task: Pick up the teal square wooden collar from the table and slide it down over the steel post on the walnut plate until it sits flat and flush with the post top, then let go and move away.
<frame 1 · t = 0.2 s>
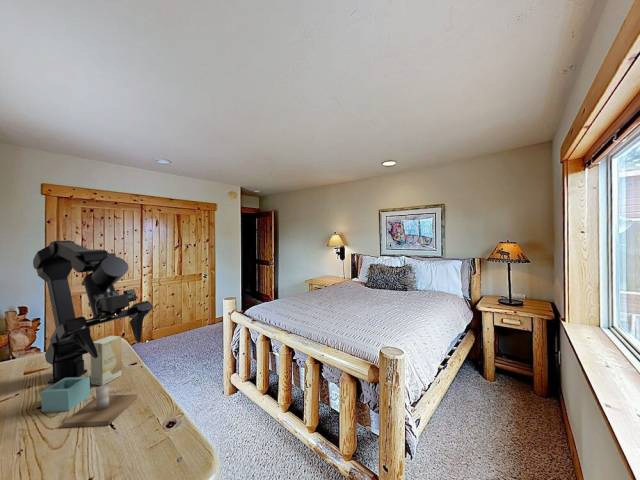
hand: (119, 349, 67), 14 cm above the table, tool tilted 30°, fingers open, 9 cm apart
collar: (67, 403, 69), on the table
skincare box: (107, 380, 80), on the table
post plate: (103, 411, 65), on the table
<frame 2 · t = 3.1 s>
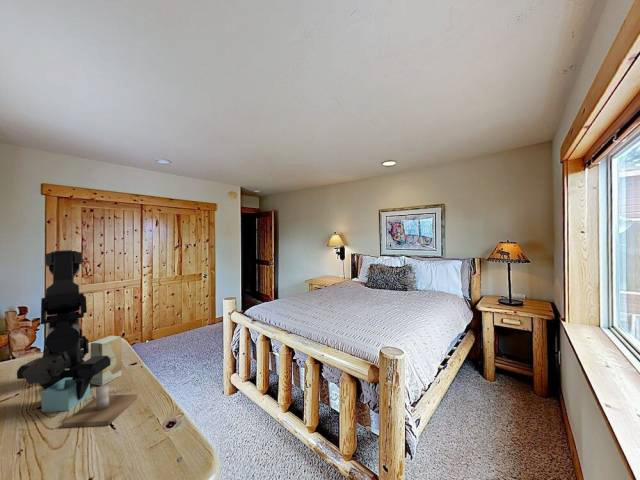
hand: (67, 399, 69), 1 cm above the table, tool pointing down, fingers closed on collar, 6 cm apart
collar: (67, 403, 69), on the table, touching gripper
everything else where it was.
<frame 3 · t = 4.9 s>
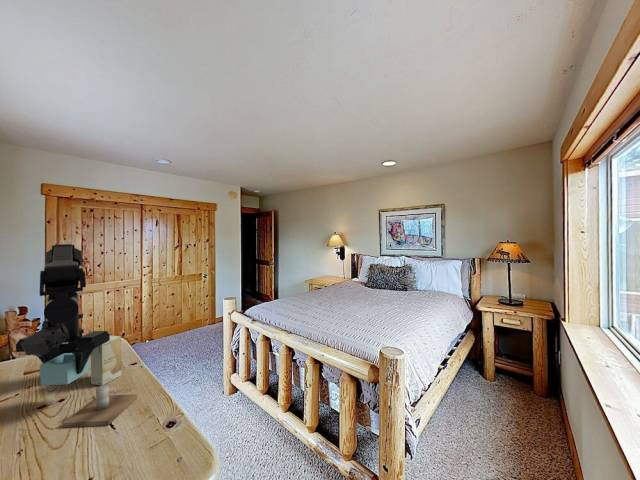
hand: (66, 373, 68), 8 cm above the table, tool pointing down, fingers closed on collar, 6 cm apart
collar: (66, 377, 68), point 7 cm above the table, touching gripper
everything else where it was.
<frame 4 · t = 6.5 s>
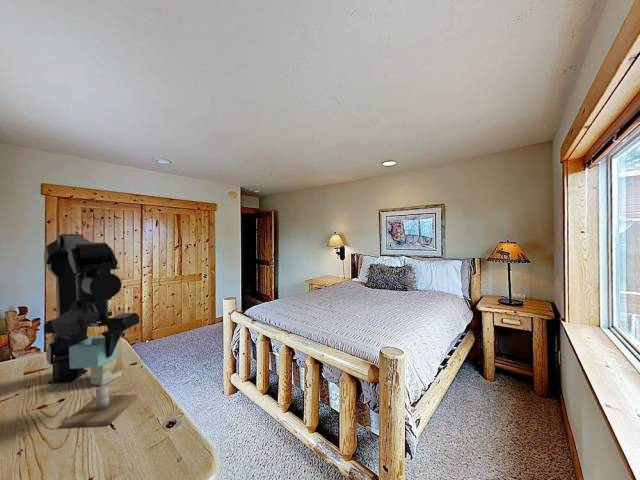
hand: (95, 357, 65), 13 cm above the table, tool pointing down, fingers closed on collar, 6 cm apart
collar: (95, 361, 65), point 12 cm above the table, touching gripper
everything else where it was.
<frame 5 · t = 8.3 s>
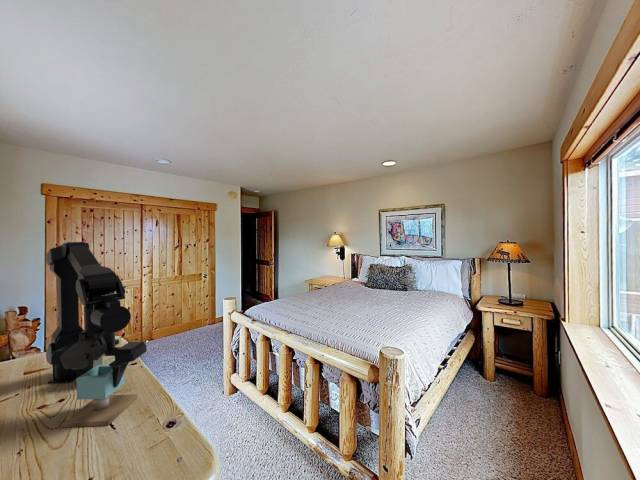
hand: (102, 386, 65), 6 cm above the table, tool pointing down, fingers closed on collar, 6 cm apart
collar: (102, 390, 65), point 5 cm above the table, touching gripper
everything else where it was.
when the fingers open (3 cm above the table, at t = 9.9 s): collar drops 1 cm, resting on post plate.
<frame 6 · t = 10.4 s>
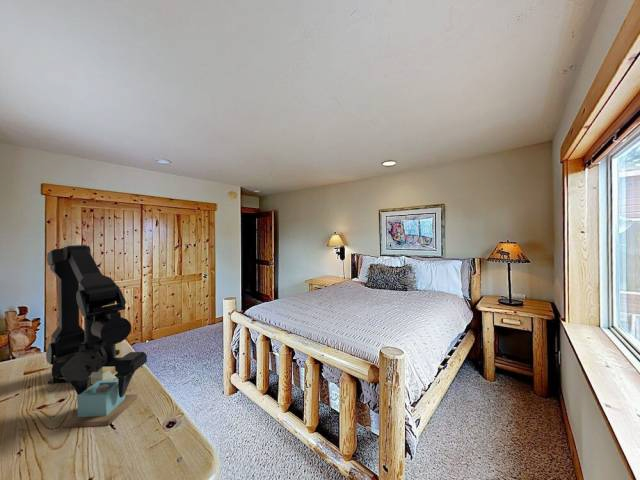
hand: (102, 397, 65), 3 cm above the table, tool pointing down, fingers open, 9 cm apart
collar: (102, 407, 65), point 1 cm above the table, touching post plate
everything else where it was.
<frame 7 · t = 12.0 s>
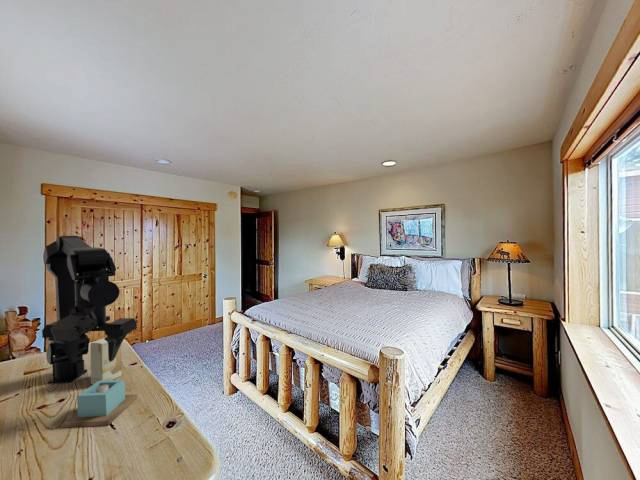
hand: (92, 361, 66), 12 cm above the table, tool pointing down, fingers open, 9 cm apart
nothing on the table moved.
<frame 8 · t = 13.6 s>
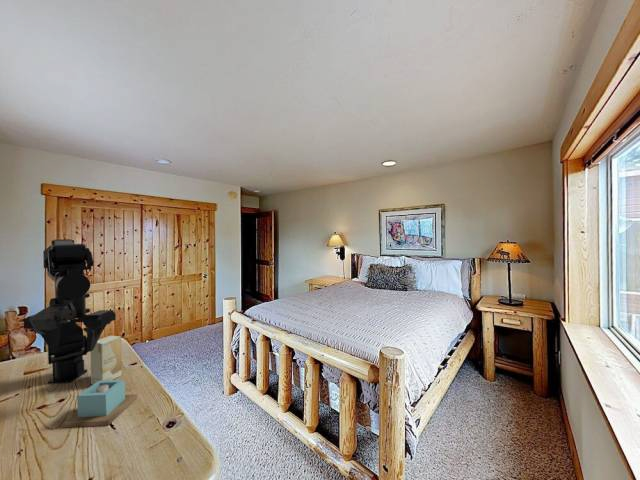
hand: (72, 351, 69), 13 cm above the table, tool pointing down, fingers open, 9 cm apart
nothing on the table moved.
at the end: collar 0.0 cm off-centre on the post plate, point 1.0 cm above the post plate's base; collar tilted 0°; the gripper is holding nothing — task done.
